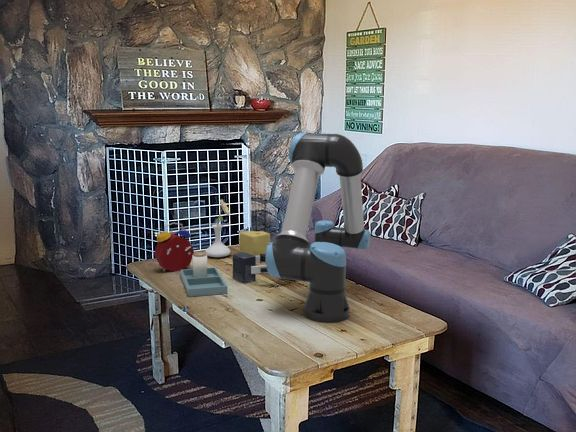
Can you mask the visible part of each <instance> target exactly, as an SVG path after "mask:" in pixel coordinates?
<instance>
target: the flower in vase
mask: <svg viewBox="0 0 576 432" xmlns="http://www.w3.org/2000/svg"><path fill="white" fill-rule="evenodd" d="M219 202H220V206H221V210H220V212H219V215H218V217H217V218H215V220H214V222H215V223H217V224H212V225H211V227H212V228H213V230H214V237H215V239H214V242H213V243H212V244H210V246H208V247H207V249H206V250H205V251H204V252H206V254H207V257H211V258H224V257H228V256H230V255H231V253H232V251H231V249H230V248H229V247H228V246H226V245H225V244H224V243H223V242H222V240H221V232H222V229H223V227H224V224H220V223H219V222H223V221H224V217H223V216H222V215H221V213H222V211H223V212H224V214H225V215H227V216H230V214H231V212H230V210H229V207H228V206H227V203H226V202H224V199H220V200H219Z"/></svg>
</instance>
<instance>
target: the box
mask: <svg viewBox="0 0 576 432" xmlns="http://www.w3.org/2000/svg"><path fill="white" fill-rule="evenodd" d="M251 266H257V263H256V256H254V255H251V254H248V253H245V252H241V253H240V252H235V253H232V279H233V280H234V281H237V282H239V283H242V284H244V285H245V284H248V283H252V282H253V283H254V282H256V281H257V280H256V275H257V274H251Z"/></svg>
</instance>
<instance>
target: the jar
mask: <svg viewBox="0 0 576 432" xmlns="http://www.w3.org/2000/svg"><path fill="white" fill-rule="evenodd" d="M191 261H192V269H193V278H200V277H207V268H208V255H207V254H206V252H205V251H194V253H193V255H192V260H191Z"/></svg>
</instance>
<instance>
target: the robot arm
mask: <svg viewBox="0 0 576 432" xmlns="http://www.w3.org/2000/svg"><path fill="white" fill-rule="evenodd" d="M288 151H289V154H288V161H289V162H290V164H291V165H292V166H291V167H292V169H293V170H294V175H293V180H292V184H291V188H290V193H289V196H288V201H287V207H286V210H285V215H284V219H283V225H282V229H281V231H280V233H278V234H277V235H276V236H275V240H274V241H272V242H271V241H270V243H269V244H268V246H267V249H266V254H260V255H259V256H256V264H262V263H265V264H264V265H256V266H251V274H256V275H257V274H269V275H270V276H271V277H273V278H278V279H281V280H292V281H299V282H308V283H309V291H308V294H307V297H306V300H305V302H304V305H303V315H304V316H305V317H306V318H308V319H310V320H312V321H315V322H316V321H317V322H321V323H322V322H323V323H337V322H341V321H345V320H346V319H348V318H349V316H350V311H351V309H350V303H349V301H348V297H347V294H346V278H347V277H346V274H347V273H346V272H347V264H348V263H347V253H346V250H345V249H344V248H348V249H356V250H367V249H368V248H369V247H370V245H371V240H372V239H371V238H372V234H371V231H370V230H369V229H365V222H364V221H365V220H364V208H363V205H364V203H363V193H362V177H361V174H362V173H363V170H364V167H363V166H364V165H363V159H362V157H361V154H360V151H359V150H358V149H357V147H356V145H355V144H354V143H353V142H352V141H351V140H350V139H349V138H348V137H346V136H344V135H342V134H339V133H320V132H319V133H318V132H317V133H313V132H300V133H298V134H296V135H295V136H294V137H293V138H292V140H291V142H290V146H289V150H288ZM326 167H328V168H335V172H336V174H337V175H338V176H339V184H340V194H341V195H340V196H341V205H342V217H343V223H344V224H343V226H344V227H340V226H339V227H336V226H335V223H334V222H333V221H331V220H323V219H321V220H319V221H316V222H315V224H314V232H313V234H314V241H313V242H312V243H311V244H310V241H309V240H308V238H307V236H308V230H309V226H310V221H311V216H312V212H313V211H312V210H313V206H314V201H315V197H316V192H317V188H318V182H319V177H320V176H322V175H324V172H325V171H326V170H325V169H326Z"/></svg>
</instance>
